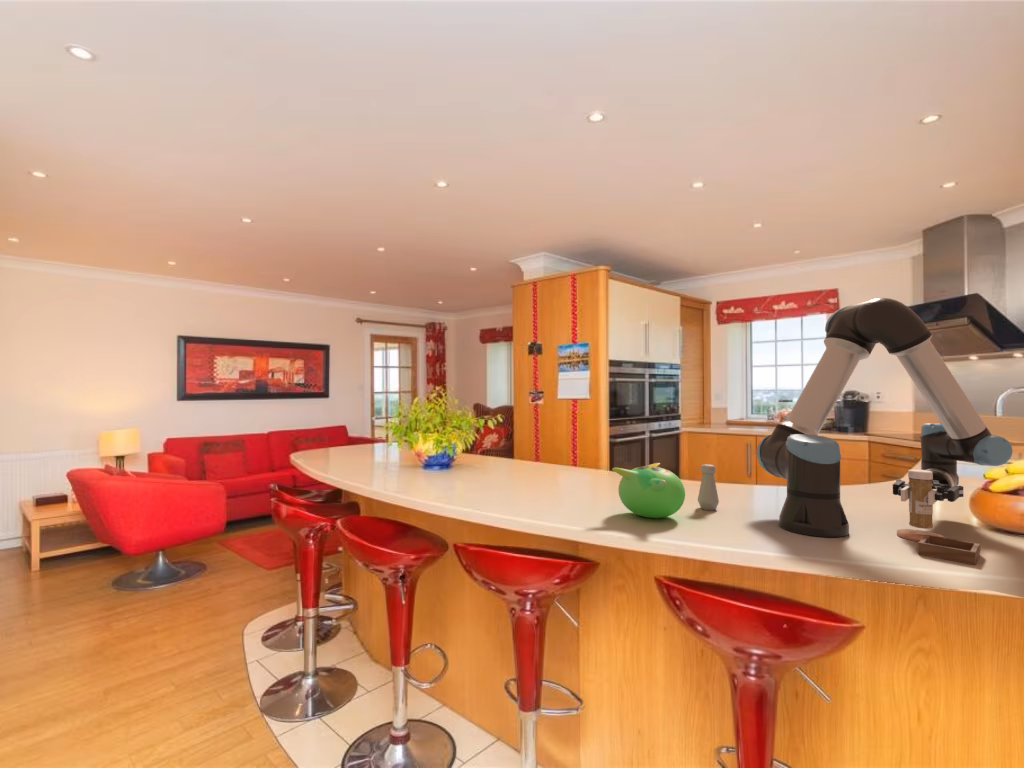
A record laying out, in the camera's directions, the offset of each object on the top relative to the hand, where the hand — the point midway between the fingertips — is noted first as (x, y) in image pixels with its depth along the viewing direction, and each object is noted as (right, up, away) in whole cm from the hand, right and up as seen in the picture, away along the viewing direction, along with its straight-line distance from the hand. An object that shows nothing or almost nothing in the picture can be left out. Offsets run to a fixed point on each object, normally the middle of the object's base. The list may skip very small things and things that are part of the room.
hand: (916, 497), depth 116 cm
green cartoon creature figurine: (-56, -11, +22) cm, 61 cm away
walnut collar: (0, -10, -9) cm, 14 cm away
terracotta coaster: (+4, -10, +3) cm, 12 cm away
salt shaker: (-36, -11, +32) cm, 49 cm away
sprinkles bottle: (+4, -8, +4) cm, 10 cm away
